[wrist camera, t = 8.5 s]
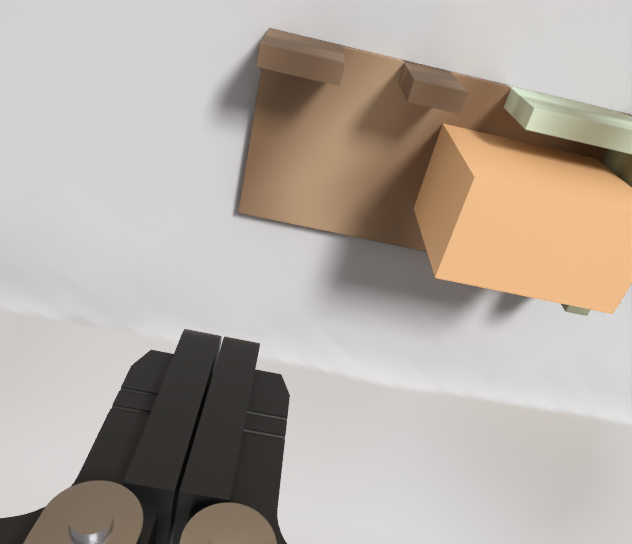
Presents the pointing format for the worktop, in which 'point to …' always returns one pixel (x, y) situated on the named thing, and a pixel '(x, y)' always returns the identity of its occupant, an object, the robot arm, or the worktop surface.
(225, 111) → the worktop surface
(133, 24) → the worktop surface
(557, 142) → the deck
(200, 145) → the worktop surface
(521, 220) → the block
